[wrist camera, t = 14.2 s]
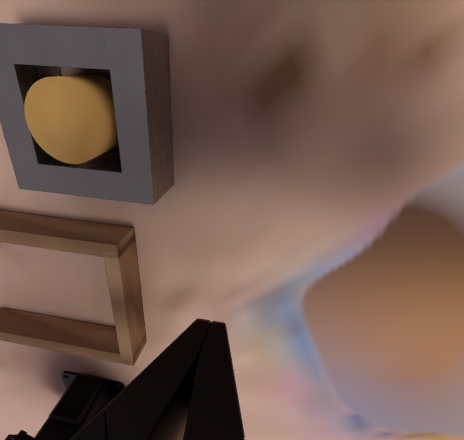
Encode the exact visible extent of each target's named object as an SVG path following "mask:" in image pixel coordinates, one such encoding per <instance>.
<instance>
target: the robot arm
mask: <svg viewBox="0 0 464 440" xmlns="http://www.w3.org/2000/svg"><path fill="white" fill-rule="evenodd" d="M62 378H63V381H64V385H65V388H66V391H65V393H64V394H63V396H62V397H61V399H60V400H59V402H58V403H57V404H56V406H55V407H54V409H53V410H52V412H51V413H50V415H49V417H48V419H47V420H46V422H45V423H44V425H43V426H42V428H41V429H40V430H39V432H38V433H37V435H36V436H35V438H33V437H32V436H30V435H28V434H27V432H25V431H23V430H21V431H20V432H19V433H18V435H8V436H7V438H6V439H5V440H245V439H244V438H245V435H244V429H243V423H242V418H241V412H240V406H239V400H238V394H237V388H236V382H235V376H234V370H233V364H232V358H231V352H230V346H229V341H228V335H227V329H226V324H225V323H223V322H217V321H212V322H211V321H210V320H205V319H196V320H195V321H194V322H193V323H192V324H191V325H190V326H189V327H188V328H187V329H186V330H185V331H184V332H183V333H182V334H181V335H180V336H179V337H178V338H177V339H175V340H174V341H173V342H172V343H171V344H170V345H169V346H168V347H167V348H166V349H165V350H164V351H163V352H162V353H161V354H160V355H159V356H158V357H157V358H156V359H155V360H154V361H153V362H152V363H151V364H149V365H148V366H147V367H146V368H145V369H144V370H143V371H142V372H141V373H140V374H139V375H138V376H137V377H136V378H135V379H134V380H133V381H132V382H131V383H130V384H129V385H128V386H127V387H126V388H125V385H124V384H123V383H122V382H118V381H113V380H108V379H103V378H98V377H93V376H88V375H83V374H78V373H73V372H68V371H64V372H63V373H62ZM118 385H119V386H121V387H119V386H118Z"/></svg>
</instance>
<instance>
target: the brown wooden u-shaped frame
mask: <svg viewBox="0 0 464 440" xmlns="http://www.w3.org/2000/svg"><path fill="white" fill-rule="evenodd" d="M0 242H4V243H11V244H18V245H25V246H32V247H39V248H46V249H53V250H60V251H67V252H73V253H80V254H87V255H94V256H101V257H104V261H105V267H106V273H107V279H108V285H109V291H110V297H111V303H112V309H113V315H114V321H115V326H116V328H115V327H109V326H103V325H98V324H92V323H86V322H81V321H75V320H69V319H64V318H58V317H52V316H47V315H41V314H35V313H29V312H24V311H18V310H12V309H7V308H1V309H0V340H2V341H8V342H13V343H18V344H23V345H29V346H34V347H39V348H44V349H49V350H55V351H60V352H65V353H70V354H76V355H81V356H86V357H91V358H96V359H102V360H107V361H112V362H117V363H123V364H128V365H133V366H134V364H135V362H136V360H137V358H138V357H139V355H140V353H141V351H142V349H143V347H144V345H145V343H146V333H145V324H144V315H143V306H142V297H141V287H140V278H139V269H138V260H137V251H136V242H135V233H134V228H133V227H126V226H118V225H110V224H103V223H95V222H87V221H79V220H72V219H64V218H56V217H49V216H41V215H33V214H25V213H18V212H10V211H2V210H0Z"/></svg>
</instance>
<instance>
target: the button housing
mask: <svg viewBox="0 0 464 440" xmlns="http://www.w3.org/2000/svg"><path fill="white" fill-rule="evenodd" d="M60 67H74V68H91V69H108V70H110V75H111V84H112V92H113V101H114V109H115V117H116V126H117V134H118V143H119V151H120V154H116V153H104V154H102V155H99V156H97V157H95V158H93V159H91V160H89V161H87V162H84V163H81V164H70V163H65V162H62V161H59V160H57V159H55V158H54V157H52V156H51V155H49V154H48V153H47V152H45V151H44V150H43V149H42V148H41V147H40V146H39V144H38V143H37V142H36V141H35V139H34V137H33V136H32V134H31V132H30V130H29V128H28V125H27V122H26V118H25V111H24V105H25V98H26V95H27V93H28V91H29V89H30V88H31V86H32V85H33V84H34V83H35V82H37V81H38V80H40V79H42V78H46V77H56V76H61V72H60ZM0 122H1V126H2V130H3V133H4V137H5V140H6V144H7V147H8V151H9V154H10V158H11V161H12V165H13V168H14V172H15V175H16V179H17V183H18V186H19V189H26V190H34V191H43V192H51V193H60V194H68V195H76V196H85V197H93V198H102V199H110V200H119V201H127V202H136V203H144V204H152V205H154V204H155V203H156V202H157V201H158V200H159V199H160V198H161V197H162V196H163V195H164V194H165V193H166V192H167V191H168V190H169V189H170V188H171V187H172V186H173V185H174V175H173V150H172V125H171V101H170V76H169V51H168V35H165V34H160V33H156V32H152V31H147V30H143V29H128V28H104V27H79V26H55V25H31V24H6V23H0Z"/></svg>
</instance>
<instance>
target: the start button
mask: <svg viewBox="0 0 464 440" xmlns="http://www.w3.org/2000/svg"><path fill="white" fill-rule="evenodd" d="M24 111H25V118H26V122H27V125H28V128H29V130H30V132H31V134H32V136H33V137H34V139H35V141H36V142H37V143H38V144H39V146H40V147H41V148H42V149H43V150H44V151H45V152H47V153H48V154H49V155H51V156H52V157H54V158H55V159H57V160H59V161H62V162H65V163H70V164H81V163H84V162H87V161H89V160H91V159H93V158H95V157H97V156H99V155H102V154H104V153H106V152H108V151H110V150H112V149H114V148H116V147H118V146H119V143H118V134H117V126H116V117H115V109H114V101H113V92H112V84H111V81H110V80H108V79H106V78H104V77H101V76H98V75H74V76H56V77H46V78H42V79H40V80H38V81H37V82H35V83H34V84H33V85H32V86H31V88H30V89H29V91H28V93H27V95H26V98H25V105H24Z"/></svg>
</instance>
